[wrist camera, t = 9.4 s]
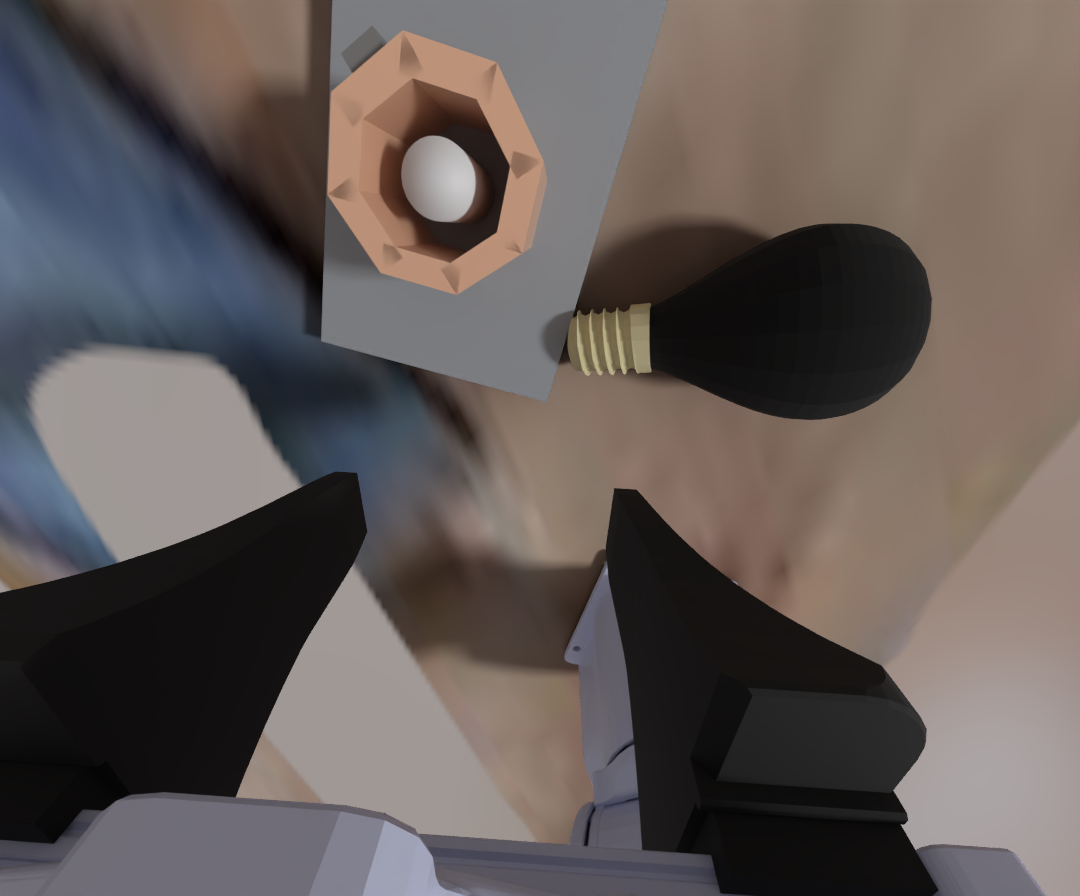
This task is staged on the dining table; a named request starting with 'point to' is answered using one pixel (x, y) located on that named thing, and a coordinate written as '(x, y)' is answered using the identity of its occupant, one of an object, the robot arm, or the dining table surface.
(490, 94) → the collar
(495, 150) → the duct plate
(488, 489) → the dining table surface
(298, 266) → the dining table surface
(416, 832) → the robot arm
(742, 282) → the light bulb
